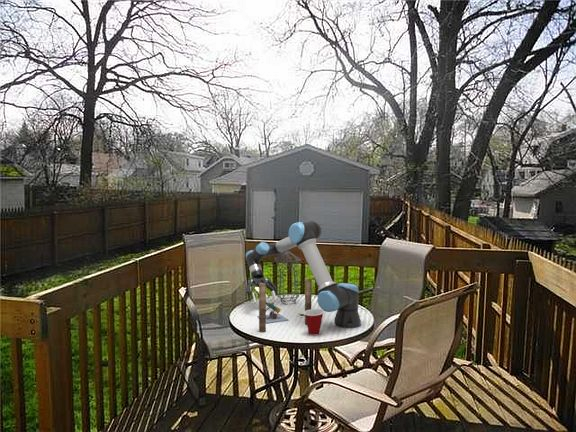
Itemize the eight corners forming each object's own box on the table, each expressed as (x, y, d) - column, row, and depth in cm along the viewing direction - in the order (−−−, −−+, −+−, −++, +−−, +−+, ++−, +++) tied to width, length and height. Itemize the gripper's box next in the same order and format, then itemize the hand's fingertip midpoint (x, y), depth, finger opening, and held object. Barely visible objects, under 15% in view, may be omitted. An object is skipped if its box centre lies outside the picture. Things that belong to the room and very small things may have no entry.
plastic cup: (302, 330, 243) (302, 308, 242) (322, 329, 244) (322, 308, 243) (304, 336, 232) (304, 314, 231) (325, 336, 233) (325, 314, 232)
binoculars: (274, 323, 259) (283, 308, 261) (262, 316, 255) (271, 301, 257) (268, 319, 267) (276, 304, 269) (256, 312, 263) (264, 297, 265)
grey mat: (288, 320, 260) (288, 319, 260) (266, 323, 254) (266, 322, 254) (278, 314, 273) (278, 313, 273) (257, 317, 267) (257, 316, 267)
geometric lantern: (279, 306, 291) (278, 253, 289) (274, 300, 306) (273, 250, 304) (302, 304, 294) (302, 252, 293) (296, 299, 310) (295, 249, 308)
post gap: (312, 324, 252) (312, 279, 250) (260, 332, 239) (260, 284, 237) (309, 323, 255) (309, 278, 254) (258, 330, 242) (258, 283, 240)
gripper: (272, 274, 292) (281, 302, 280) (236, 277, 281) (244, 307, 269) (276, 268, 287) (285, 296, 275) (239, 270, 276) (247, 300, 264)
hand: (265, 301), depth 272 cm, fingers open, 13 cm apart
